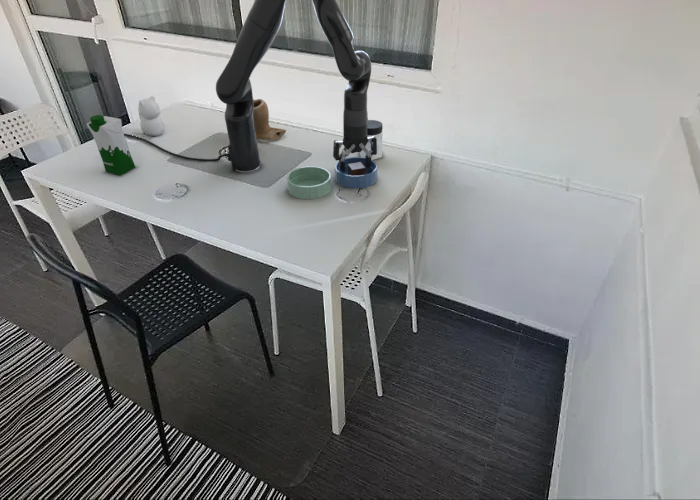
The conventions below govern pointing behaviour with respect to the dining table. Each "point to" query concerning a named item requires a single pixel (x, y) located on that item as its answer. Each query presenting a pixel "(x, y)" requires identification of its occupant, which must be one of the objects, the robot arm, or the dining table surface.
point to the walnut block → (356, 169)
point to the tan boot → (264, 122)
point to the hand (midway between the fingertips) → (355, 168)
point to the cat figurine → (150, 117)
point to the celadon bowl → (309, 182)
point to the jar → (376, 130)
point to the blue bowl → (356, 181)
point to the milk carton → (111, 144)
